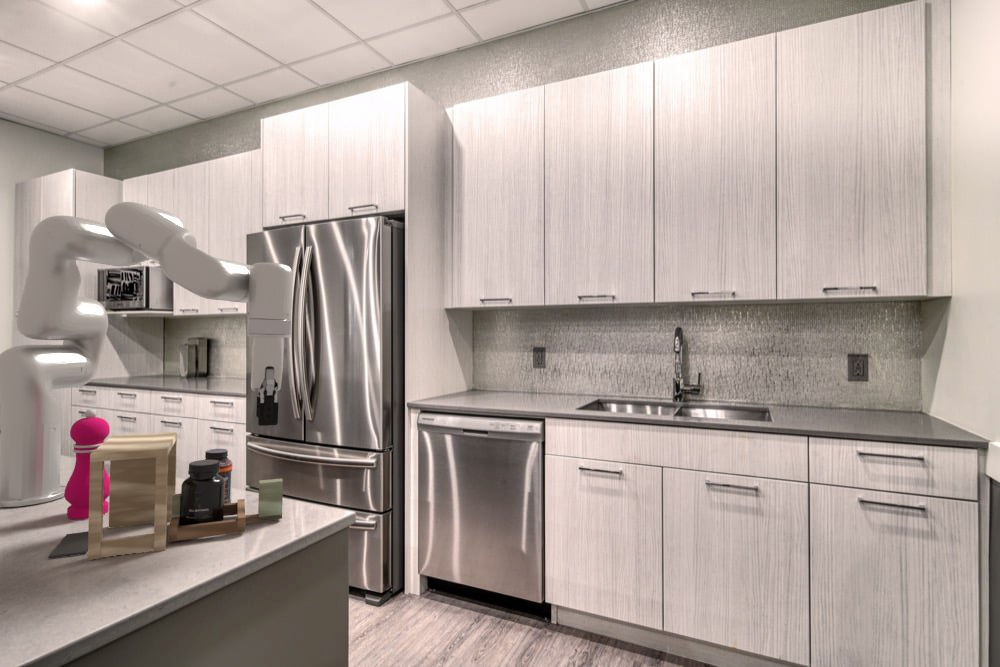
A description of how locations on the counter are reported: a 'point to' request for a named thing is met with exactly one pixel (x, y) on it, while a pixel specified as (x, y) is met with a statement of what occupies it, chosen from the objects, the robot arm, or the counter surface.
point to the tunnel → (132, 491)
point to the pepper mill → (85, 464)
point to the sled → (266, 511)
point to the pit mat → (71, 545)
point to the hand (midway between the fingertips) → (266, 420)
